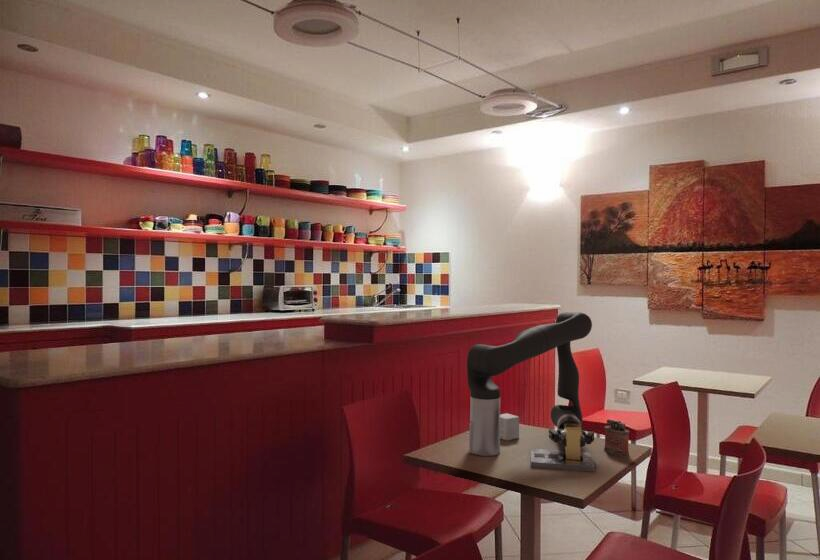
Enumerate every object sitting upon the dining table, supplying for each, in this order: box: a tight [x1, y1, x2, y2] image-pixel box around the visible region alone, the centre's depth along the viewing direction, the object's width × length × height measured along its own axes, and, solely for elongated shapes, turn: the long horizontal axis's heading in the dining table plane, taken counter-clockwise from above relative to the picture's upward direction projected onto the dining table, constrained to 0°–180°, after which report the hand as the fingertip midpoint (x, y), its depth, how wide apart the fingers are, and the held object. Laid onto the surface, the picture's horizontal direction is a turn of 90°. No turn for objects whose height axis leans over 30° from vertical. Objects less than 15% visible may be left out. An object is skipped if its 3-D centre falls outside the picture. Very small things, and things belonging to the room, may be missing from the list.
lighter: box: [603, 419, 630, 457], centre depth 177 cm, size 8×3×10 cm, turn 37°
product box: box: [500, 413, 520, 441], centre depth 194 cm, size 6×6×7 cm
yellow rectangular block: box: [564, 423, 582, 461], centre depth 167 cm, size 4×4×11 cm
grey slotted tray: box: [530, 448, 596, 473], centre depth 168 cm, size 18×13×2 cm
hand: (573, 443), depth 164 cm, fingers closed on yellow rectangular block, 4 cm apart
